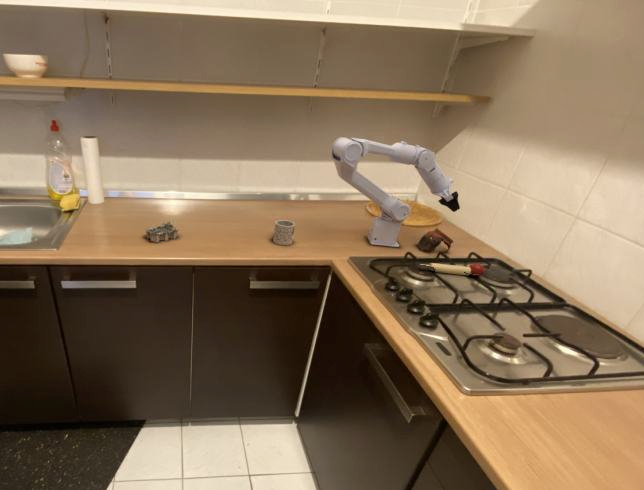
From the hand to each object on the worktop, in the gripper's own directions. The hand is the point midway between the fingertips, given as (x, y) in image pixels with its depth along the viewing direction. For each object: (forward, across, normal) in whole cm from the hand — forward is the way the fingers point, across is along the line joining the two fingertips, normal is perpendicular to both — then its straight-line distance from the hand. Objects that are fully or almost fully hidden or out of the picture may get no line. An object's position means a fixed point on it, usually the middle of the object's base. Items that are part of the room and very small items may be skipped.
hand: (452, 204), depth 133 cm
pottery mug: (+5, -11, +13) cm, 17 cm away
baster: (0, -29, +12) cm, 31 cm away
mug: (-34, -11, +48) cm, 60 cm away
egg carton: (-65, -18, +76) cm, 101 cm away
